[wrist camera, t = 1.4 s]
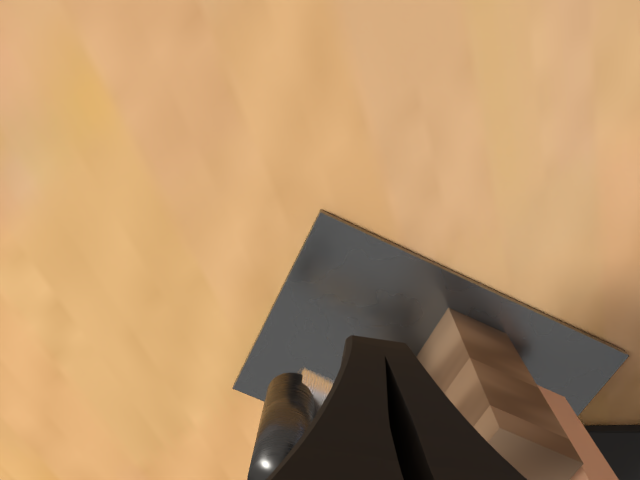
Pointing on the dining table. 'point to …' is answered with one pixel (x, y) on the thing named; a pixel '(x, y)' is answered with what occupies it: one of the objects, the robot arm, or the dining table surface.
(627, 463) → the phone
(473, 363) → the bearing block
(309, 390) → the crank handle
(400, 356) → the robot arm
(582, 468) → the collar
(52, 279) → the dining table surface
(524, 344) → the base plate
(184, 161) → the dining table surface
